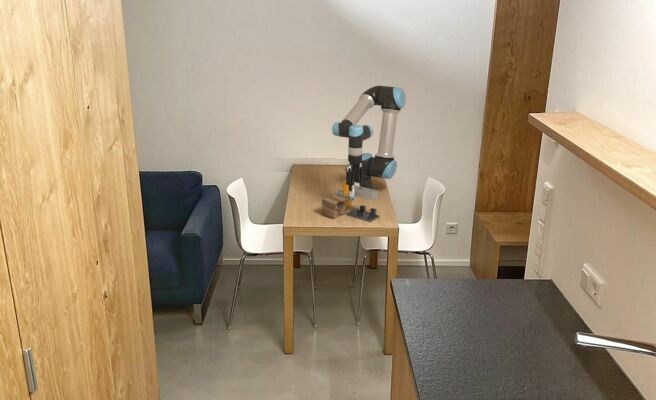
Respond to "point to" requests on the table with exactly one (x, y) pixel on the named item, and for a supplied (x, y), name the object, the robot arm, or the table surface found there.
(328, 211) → the brown wooden stepped block
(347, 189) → the orange post with rings
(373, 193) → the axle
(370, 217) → the dark grey pegged plate
